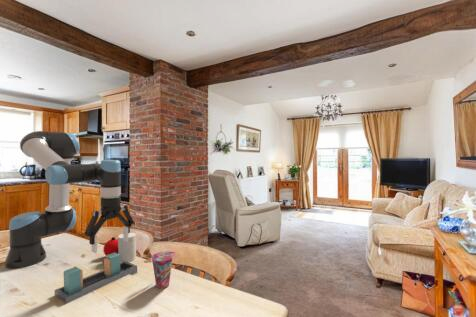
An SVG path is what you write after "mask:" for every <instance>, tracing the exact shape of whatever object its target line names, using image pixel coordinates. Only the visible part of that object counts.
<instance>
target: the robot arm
mask: <svg viewBox="0 0 476 317" xmlns="http://www.w3.org/2000/svg"><path fill="white" fill-rule="evenodd" d="M19 147H20V151H21V152H22V153H23V154H24V155H25V156H26V157H29V158H31V159H33V160H34V161H35V162H36V163H38V165H39V166H41V168H42V169H44V170H45V173H44V176H45V180H46V183H48V185H49V190H48V191H49V193H48V194H49V195H48V205H47V206H46V207H45V209H44V212H43V213H42V212H41V211H30V212H25V213H21V214H17V215H15V216H14V217H12V218H11V219H10V220H9V227H8V230H9V233H8V234H9V249H8V250H9V251H8V252H7V255H6V258H5V261H4V266H5V268H7V269H19V268H26V267H29V266H33V265H36V264H38V263H41V262H43V261H44V260H45V259H46V258H47V252H46V249H45V247H44V246H43V243H42V237H45V236H46V237H47V236H49V235H54V234H58V233H63V232H66V231H70V230H72V229H73V228H74V226H75V225H76V222H77V212H76V210H75V209H74V208H73V206H72V205H70V204H69V202H70V184H76V183H91V182H100V210H93V211H92V216H91V218H90V220H89V223H88V224H87V226H86V228H85V231H84V232H83V235H84V237H88V238H89V244H90V245H91V252H93V253H98V236H97V234H98V232H99V230H100V229H101V228H102V226H103V225H104V223H105V222H107V220H111V219H116V218H117V219H118V220H119V221H120V222H121V223H122V224H123V226H122V234H123V241H126V242H128V233H131V231H130V230H131V227H132V225H133V224H135V221H134V219H133V217H132V215H131V214H130V212H129V207H128V205H127V204H122V203H121V202H122V197H121V194H122V183H121V181H122V167H121V161H120V160H118V159H103V160H101V161H100V163H98V162H97V163H96V162H95V163H92V162H91V163H82V164H71V162H72V161H73V160H74V159H75V156H76V155H77V154H79V152H80V147H81V145H80V141H79V139H78V137H77V136H76V135H75V134H74V133H72V132H64V131H63V132H62V131H61V132H60V131H45V130H38V131H37V130H36V131H32V132H30V133H29V132H28V133H27V134H26V135H25V136H23V137H22V138H21V140H20V143H19ZM121 211H122V214H123V215H124V216H123V215H122V214H121Z"/></svg>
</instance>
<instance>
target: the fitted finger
mask: <svg viewBox="0 0 476 317" xmlns="http://www.w3.org/2000/svg"><path fill="white" fill-rule="evenodd" d="M83 272H84V270H83V269H81V268H80V267H77V266H74V267H70V268H68V269H65V270H63V287H64V293H66V294H67V295H70V294H72V293H74V292H77V291H79V290H81V287H83V278H84V277H83V276H84V274H83Z"/></svg>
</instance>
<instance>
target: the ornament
mask: <svg viewBox="0 0 476 317" xmlns="http://www.w3.org/2000/svg"><path fill="white" fill-rule="evenodd" d="M102 250H103V254H104V255H105V256H106V255H109V254H112V253H117V254H118V238H116V237H115V236H113V237H111V239H109V240H108V241H107V242H105V243H104V244H103V248H102Z"/></svg>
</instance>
